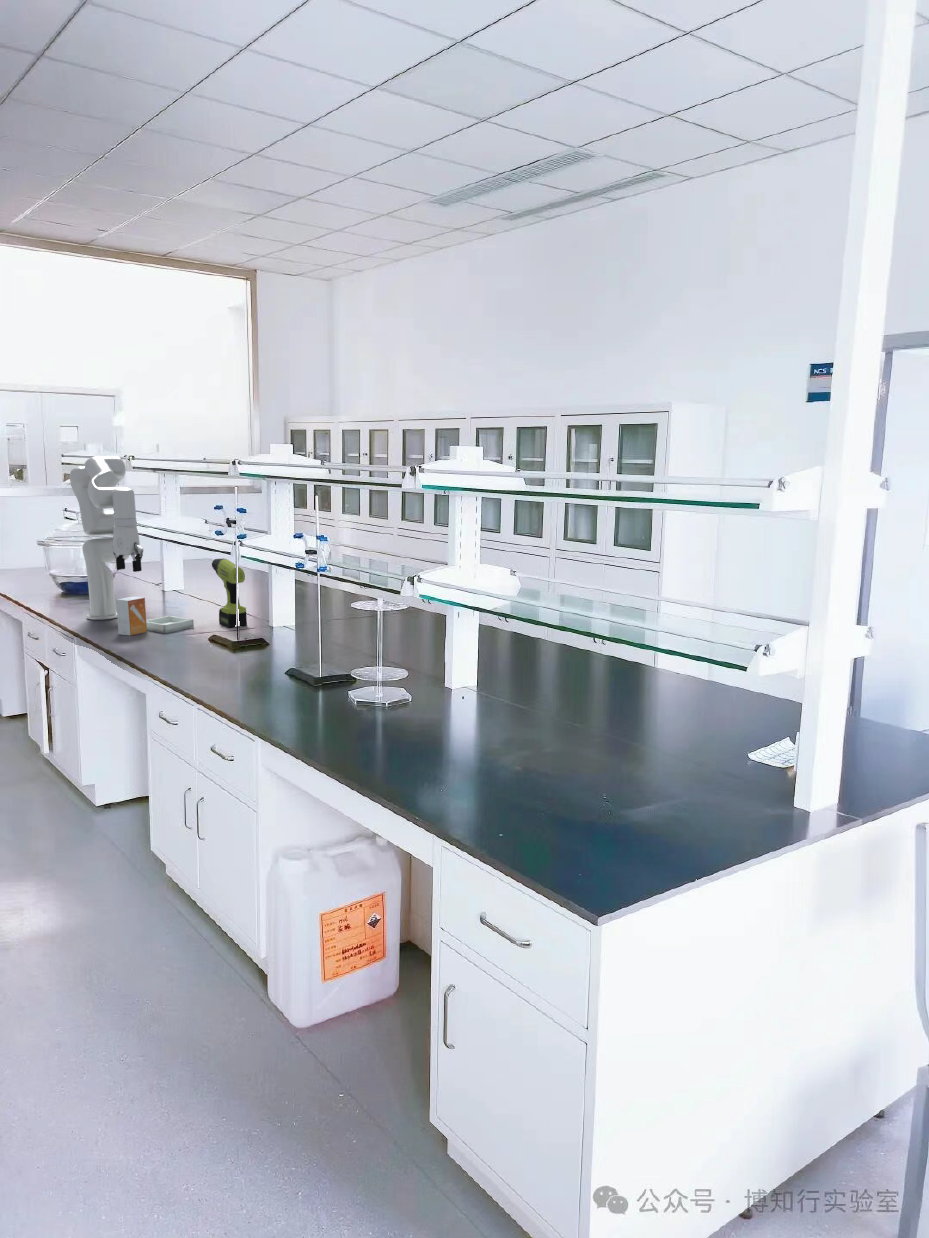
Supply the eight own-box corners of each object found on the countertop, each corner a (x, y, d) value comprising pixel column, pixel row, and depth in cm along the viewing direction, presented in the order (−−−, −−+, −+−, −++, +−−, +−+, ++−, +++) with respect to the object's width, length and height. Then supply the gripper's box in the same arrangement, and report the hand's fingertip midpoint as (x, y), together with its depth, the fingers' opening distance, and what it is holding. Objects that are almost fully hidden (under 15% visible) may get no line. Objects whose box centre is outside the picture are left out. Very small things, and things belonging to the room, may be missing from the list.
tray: (141, 628, 344) (141, 621, 343) (170, 623, 354) (170, 615, 354) (164, 633, 336) (164, 625, 335) (193, 627, 346) (193, 619, 345)
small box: (130, 636, 331) (127, 600, 329) (118, 634, 334) (115, 599, 332) (147, 631, 338) (145, 597, 336) (135, 630, 341) (133, 596, 339)
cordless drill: (208, 620, 360) (204, 557, 355) (225, 617, 364) (221, 555, 359) (232, 629, 342) (228, 563, 337) (249, 626, 346) (246, 561, 341)
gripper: (102, 523, 331) (105, 569, 334) (131, 525, 321) (134, 573, 324) (120, 521, 337) (123, 567, 340) (149, 523, 327) (152, 571, 330)
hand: (129, 570), depth 332 cm, fingers open, 9 cm apart
